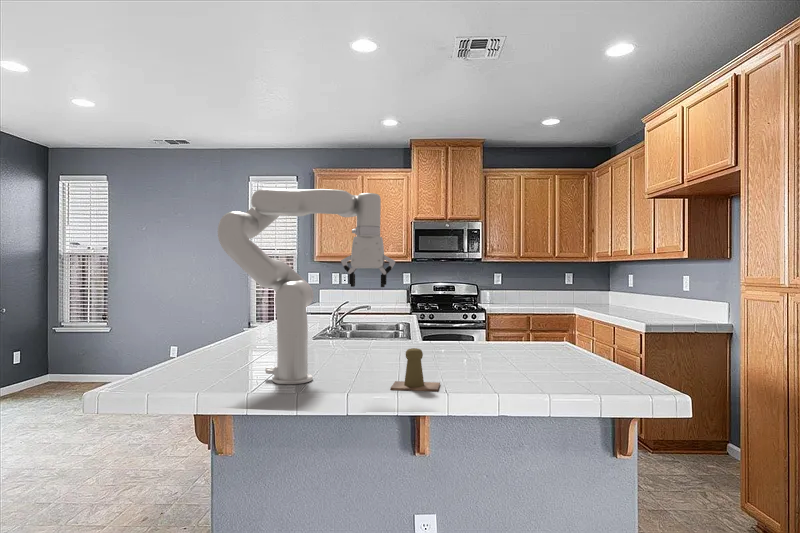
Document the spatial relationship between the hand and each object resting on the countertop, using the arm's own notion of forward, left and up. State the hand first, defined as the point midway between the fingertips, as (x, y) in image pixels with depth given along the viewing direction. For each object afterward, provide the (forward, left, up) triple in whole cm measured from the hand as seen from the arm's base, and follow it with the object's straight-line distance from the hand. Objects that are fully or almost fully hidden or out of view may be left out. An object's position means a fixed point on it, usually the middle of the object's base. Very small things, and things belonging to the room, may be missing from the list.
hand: (367, 286), depth 167 cm
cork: (+15, -5, -30) cm, 34 cm away
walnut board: (+16, -5, -30) cm, 34 cm away
